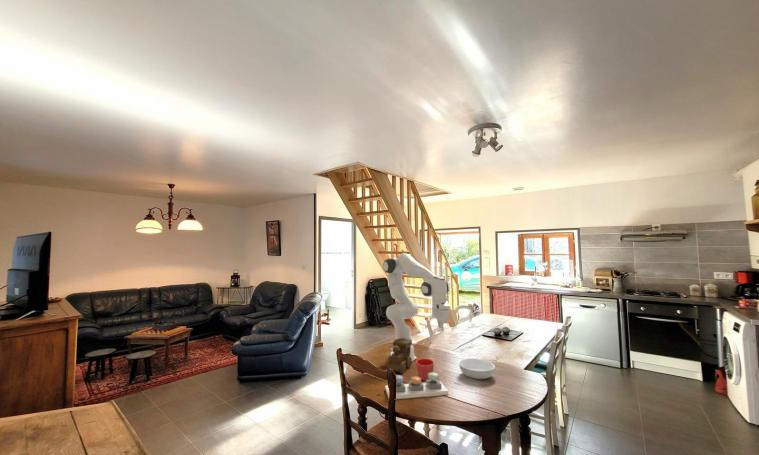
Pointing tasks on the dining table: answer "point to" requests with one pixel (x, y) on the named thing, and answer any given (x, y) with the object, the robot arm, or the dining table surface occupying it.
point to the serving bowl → (477, 368)
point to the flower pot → (424, 368)
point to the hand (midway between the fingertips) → (440, 327)
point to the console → (419, 389)
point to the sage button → (433, 376)
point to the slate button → (399, 379)
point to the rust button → (415, 380)
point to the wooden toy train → (400, 355)
